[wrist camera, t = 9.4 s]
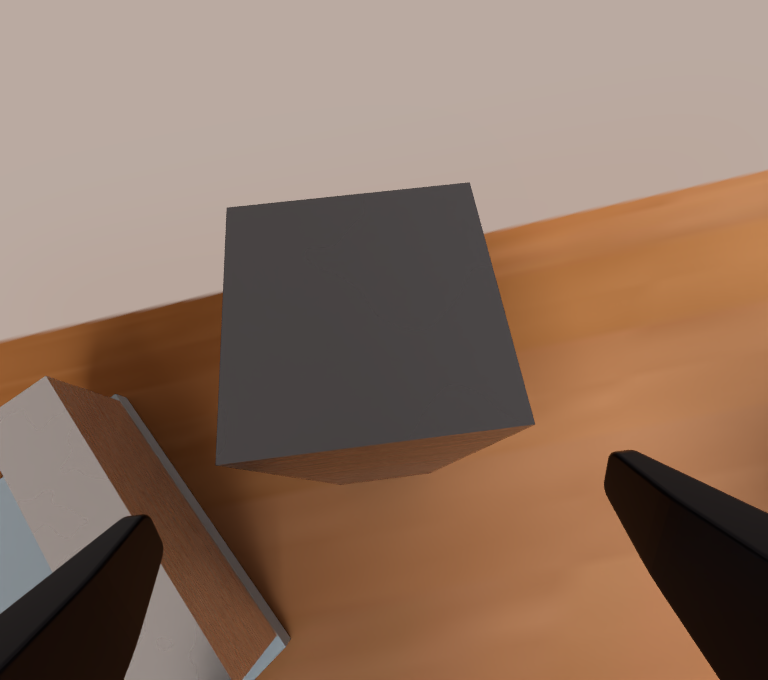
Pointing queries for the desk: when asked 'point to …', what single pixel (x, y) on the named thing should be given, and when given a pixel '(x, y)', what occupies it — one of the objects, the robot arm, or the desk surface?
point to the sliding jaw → (120, 499)
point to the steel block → (363, 338)
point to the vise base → (29, 567)
